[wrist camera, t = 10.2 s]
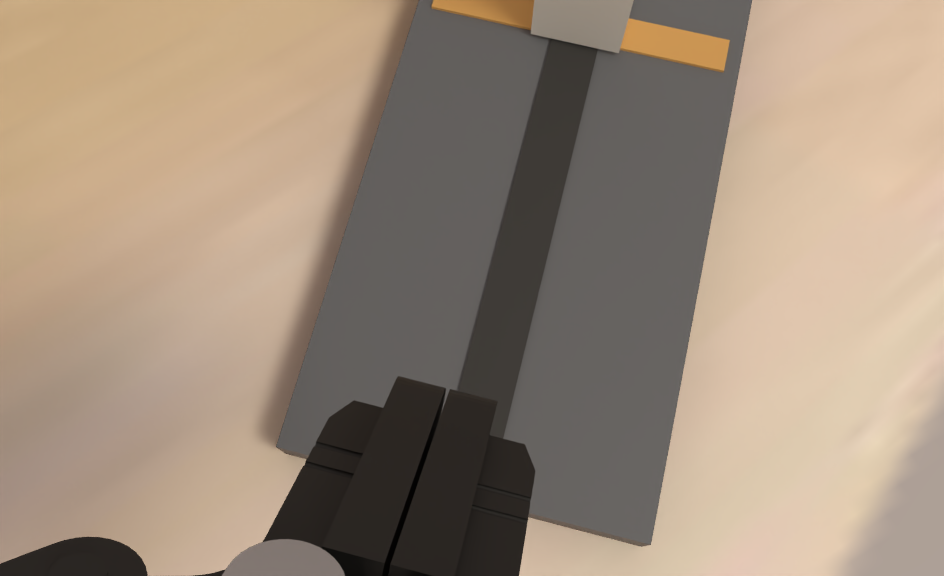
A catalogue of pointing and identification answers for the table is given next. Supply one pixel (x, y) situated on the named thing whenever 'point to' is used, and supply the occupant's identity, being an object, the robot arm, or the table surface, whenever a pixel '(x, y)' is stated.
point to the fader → (583, 21)
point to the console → (537, 242)
